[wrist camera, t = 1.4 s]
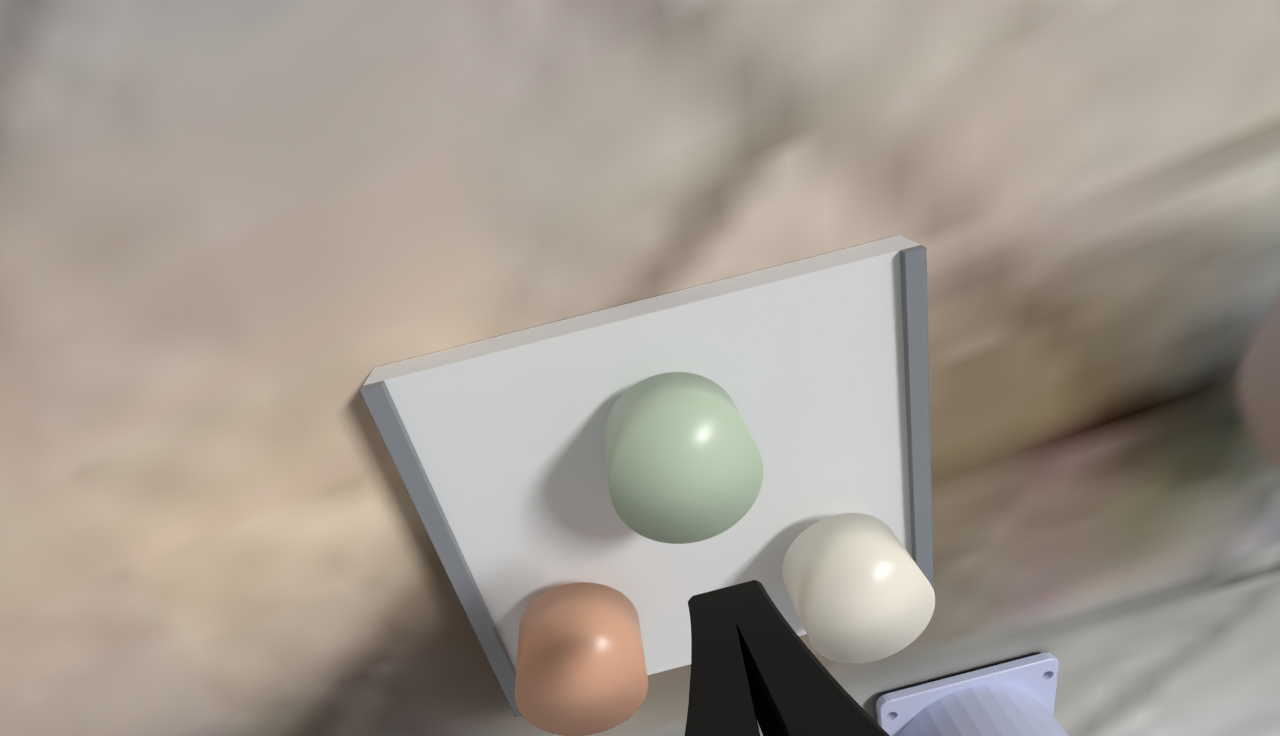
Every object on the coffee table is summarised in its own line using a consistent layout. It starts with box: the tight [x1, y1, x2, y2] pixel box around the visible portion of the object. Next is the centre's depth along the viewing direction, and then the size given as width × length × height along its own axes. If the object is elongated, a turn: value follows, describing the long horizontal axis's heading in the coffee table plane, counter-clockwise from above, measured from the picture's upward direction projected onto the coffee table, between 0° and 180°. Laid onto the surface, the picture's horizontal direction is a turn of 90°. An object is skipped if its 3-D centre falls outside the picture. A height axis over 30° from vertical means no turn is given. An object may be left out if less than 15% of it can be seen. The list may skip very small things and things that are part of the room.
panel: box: [360, 235, 933, 717], centre depth 21 cm, size 14×16×2 cm
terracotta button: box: [515, 582, 648, 736], centre depth 20 cm, size 4×4×2 cm
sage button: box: [603, 372, 763, 544], centre depth 17 cm, size 4×4×2 cm
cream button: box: [782, 513, 935, 664], centre depth 20 cm, size 4×4×2 cm
